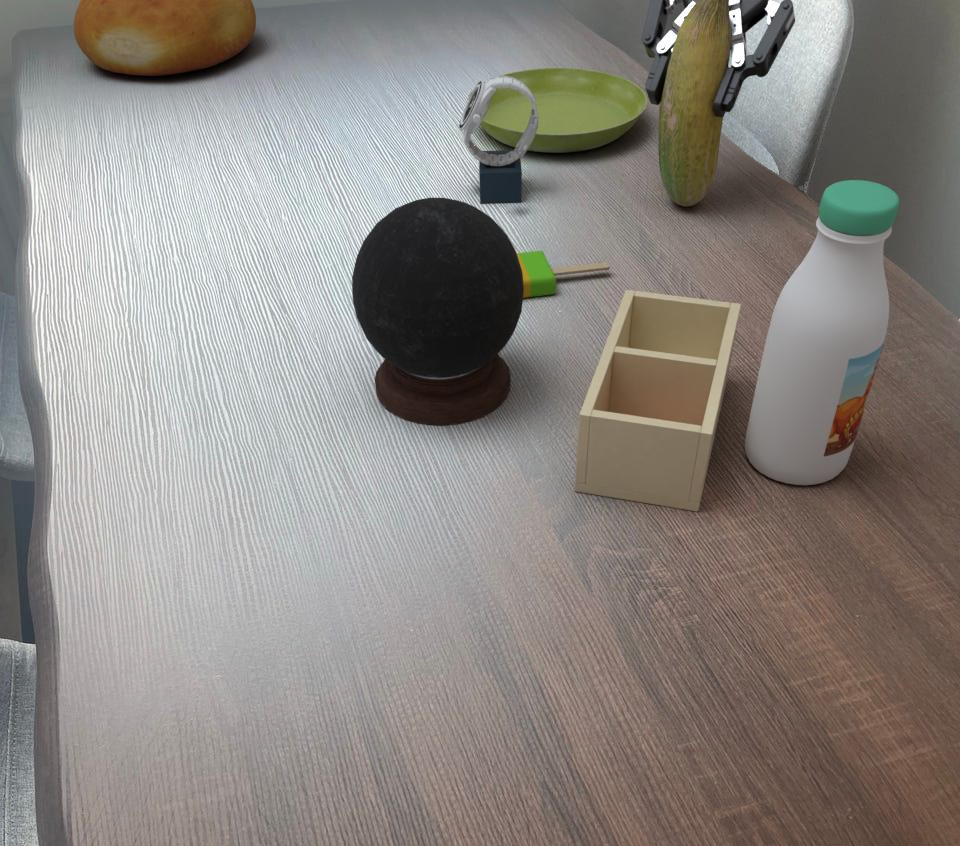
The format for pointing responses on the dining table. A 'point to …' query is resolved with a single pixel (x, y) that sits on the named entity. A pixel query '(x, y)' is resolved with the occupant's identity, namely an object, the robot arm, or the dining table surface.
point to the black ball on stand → (438, 309)
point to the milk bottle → (824, 341)
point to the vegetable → (693, 102)
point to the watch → (501, 166)
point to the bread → (162, 33)
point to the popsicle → (547, 273)
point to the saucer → (565, 109)
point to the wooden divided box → (656, 400)
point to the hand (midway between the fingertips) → (684, 106)
